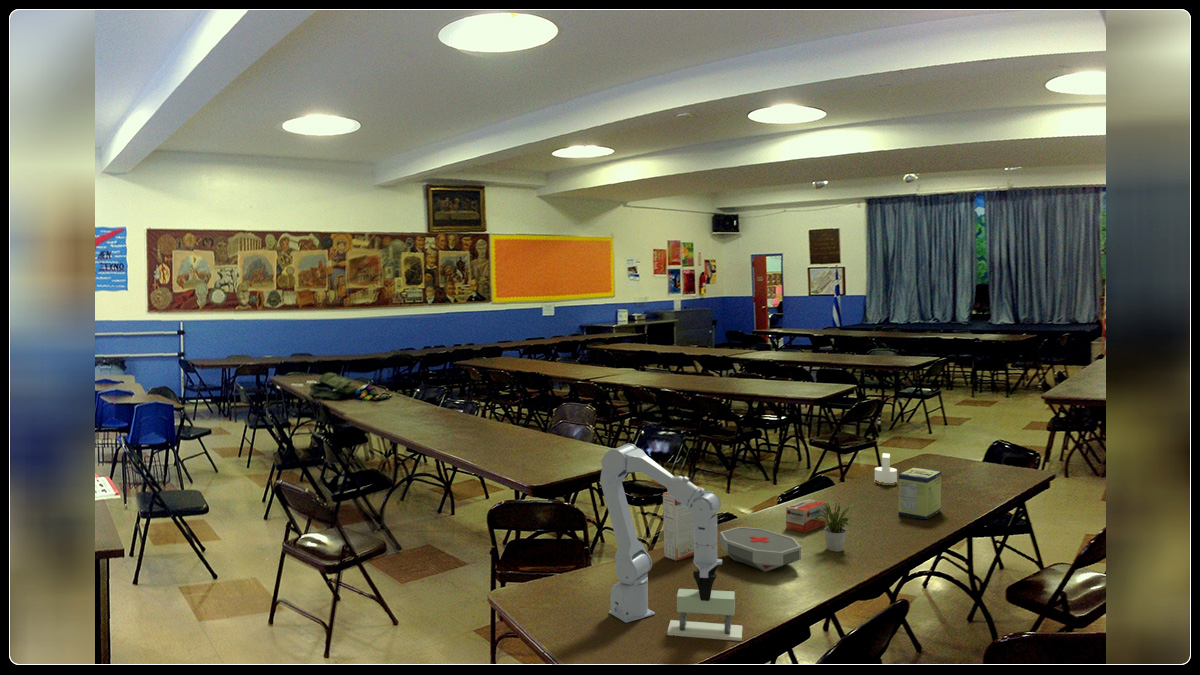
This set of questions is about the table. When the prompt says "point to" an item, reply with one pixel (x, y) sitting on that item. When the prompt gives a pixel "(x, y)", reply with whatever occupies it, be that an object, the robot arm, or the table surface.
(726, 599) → the pale green block
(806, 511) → the medicine box
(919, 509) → the protein box
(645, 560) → the robot arm
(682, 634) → the peg stand
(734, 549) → the first aid kit
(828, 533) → the house plant
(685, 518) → the cracker box
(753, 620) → the table surface
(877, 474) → the cylinder with rectangular tab
